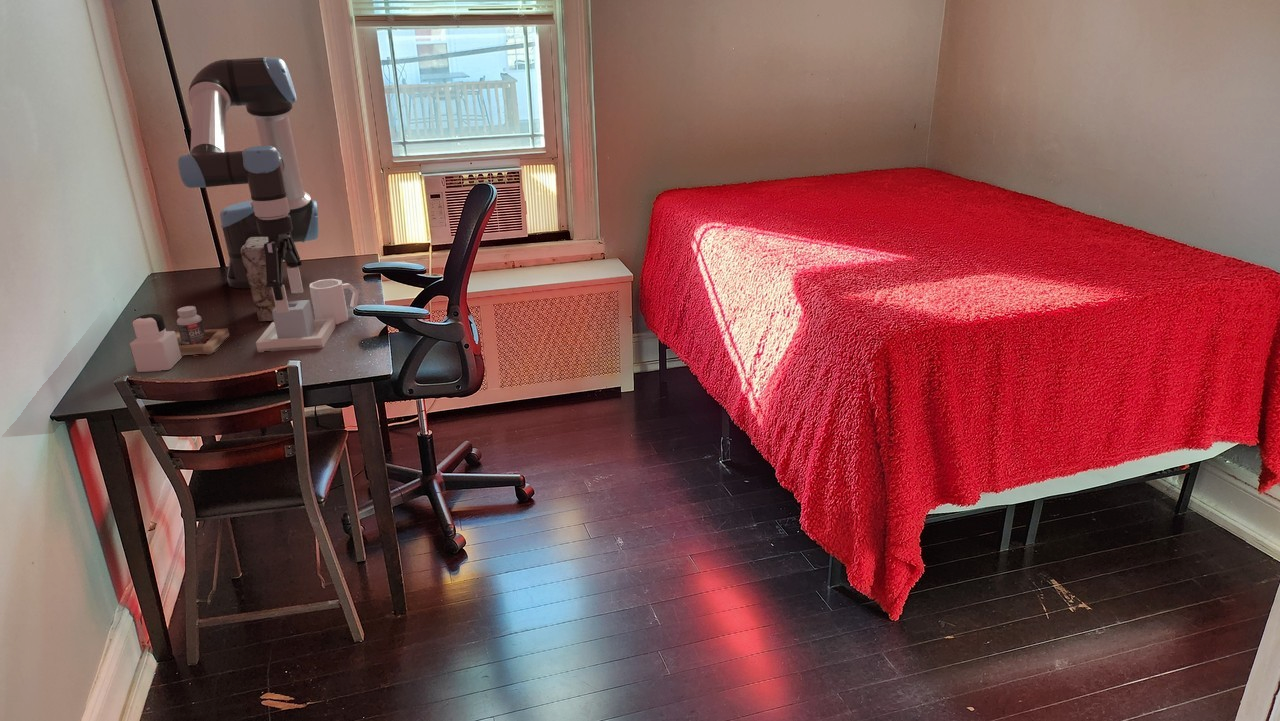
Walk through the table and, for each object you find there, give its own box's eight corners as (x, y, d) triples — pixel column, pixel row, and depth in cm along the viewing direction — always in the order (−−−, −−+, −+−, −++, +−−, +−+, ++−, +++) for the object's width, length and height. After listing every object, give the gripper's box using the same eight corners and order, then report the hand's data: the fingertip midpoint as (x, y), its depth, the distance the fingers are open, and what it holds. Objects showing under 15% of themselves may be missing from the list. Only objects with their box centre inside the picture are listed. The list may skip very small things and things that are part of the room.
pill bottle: (196, 351, 200) (186, 313, 196) (178, 349, 201) (168, 311, 197) (213, 343, 204) (203, 305, 201) (195, 341, 206) (185, 304, 202)
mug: (321, 327, 212) (314, 291, 208) (310, 319, 219) (303, 283, 215) (367, 317, 219) (361, 281, 215) (355, 308, 225) (349, 273, 221)
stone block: (285, 320, 219) (269, 245, 211) (256, 324, 216) (239, 248, 208) (285, 304, 230) (270, 233, 222) (258, 308, 228) (242, 236, 220)
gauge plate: (179, 339, 208) (177, 331, 207) (229, 335, 209) (227, 328, 208) (159, 357, 197) (157, 350, 196) (213, 354, 198) (211, 346, 197)
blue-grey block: (286, 332, 208) (279, 301, 205) (315, 330, 209) (309, 299, 205) (278, 342, 201) (271, 311, 198) (308, 340, 202) (302, 309, 199)
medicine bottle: (151, 360, 195) (137, 312, 191) (182, 358, 196) (170, 310, 191) (137, 372, 189) (122, 323, 184) (169, 371, 189) (156, 321, 185)
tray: (274, 331, 211) (272, 322, 210) (335, 327, 212) (333, 318, 211) (257, 352, 198) (255, 342, 197) (323, 347, 200) (321, 338, 199)
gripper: (270, 203, 204) (287, 285, 213) (239, 231, 181) (259, 321, 190) (302, 202, 205) (318, 284, 214) (275, 229, 182) (293, 319, 191)
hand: (290, 302), depth 202 cm, fingers open, 13 cm apart
